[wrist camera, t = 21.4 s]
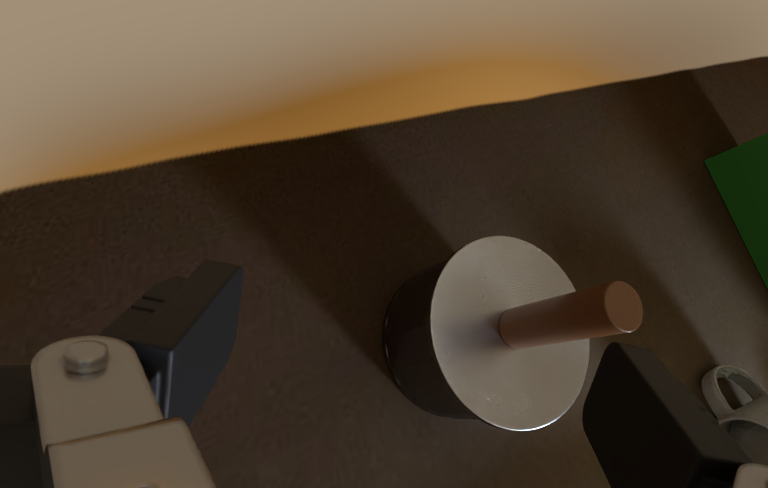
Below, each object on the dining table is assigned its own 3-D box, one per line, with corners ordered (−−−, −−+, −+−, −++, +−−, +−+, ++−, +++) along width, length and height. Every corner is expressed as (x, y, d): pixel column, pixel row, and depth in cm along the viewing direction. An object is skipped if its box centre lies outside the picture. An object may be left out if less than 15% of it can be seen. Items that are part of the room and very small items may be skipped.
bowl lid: (384, 353, 29) (481, 332, 21) (474, 205, 34) (578, 143, 26) (535, 470, 31) (676, 491, 23) (598, 313, 36) (731, 286, 28)
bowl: (354, 358, 35) (401, 347, 29) (427, 241, 40) (481, 211, 34) (471, 447, 37) (539, 455, 31) (528, 325, 42) (597, 311, 36)
